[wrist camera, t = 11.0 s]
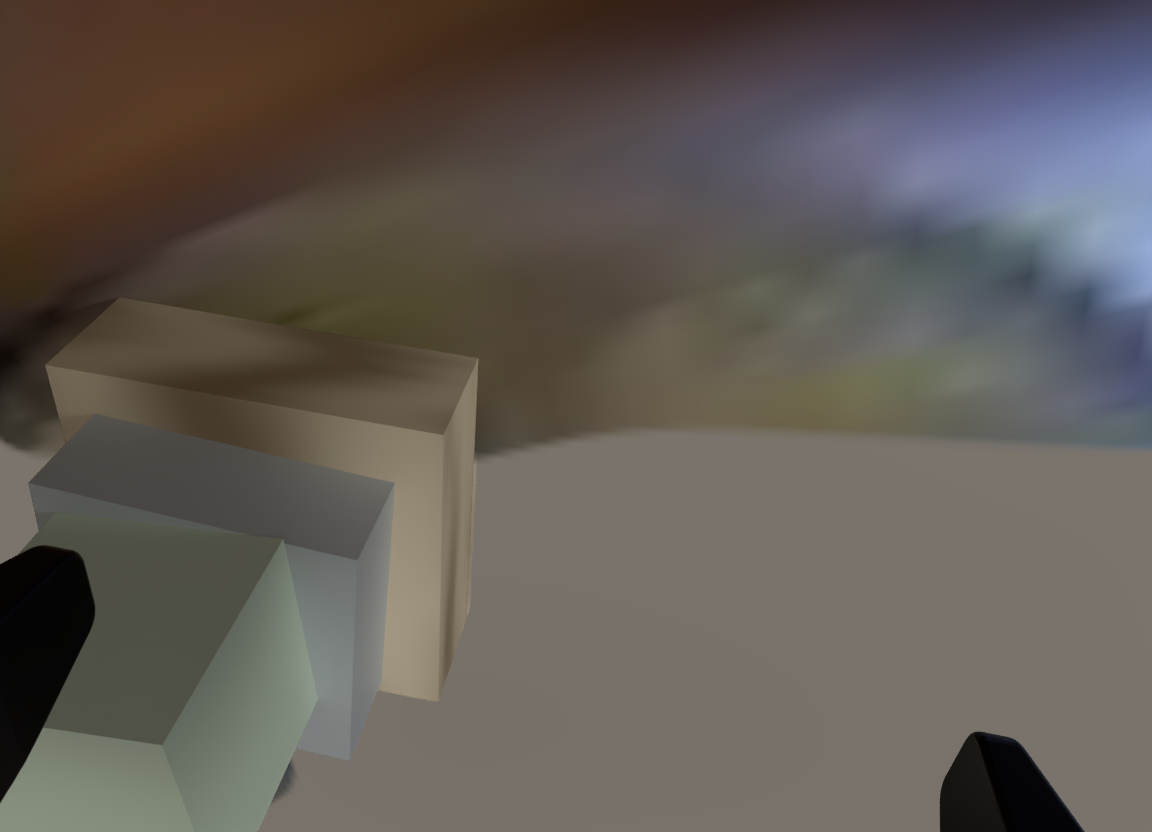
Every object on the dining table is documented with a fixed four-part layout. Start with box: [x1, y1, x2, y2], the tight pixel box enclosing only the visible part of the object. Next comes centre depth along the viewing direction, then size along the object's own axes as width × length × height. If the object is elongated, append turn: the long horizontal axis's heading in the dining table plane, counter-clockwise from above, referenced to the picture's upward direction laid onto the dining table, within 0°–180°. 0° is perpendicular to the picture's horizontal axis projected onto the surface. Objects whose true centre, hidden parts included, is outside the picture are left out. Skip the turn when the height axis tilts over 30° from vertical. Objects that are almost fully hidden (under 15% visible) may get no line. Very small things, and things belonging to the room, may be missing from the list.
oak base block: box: [45, 297, 478, 702], centre depth 26 cm, size 9×9×4 cm
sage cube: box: [0, 512, 318, 832], centre depth 20 cm, size 5×5×5 cm
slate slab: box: [29, 414, 395, 761], centre depth 24 cm, size 7×7×2 cm
